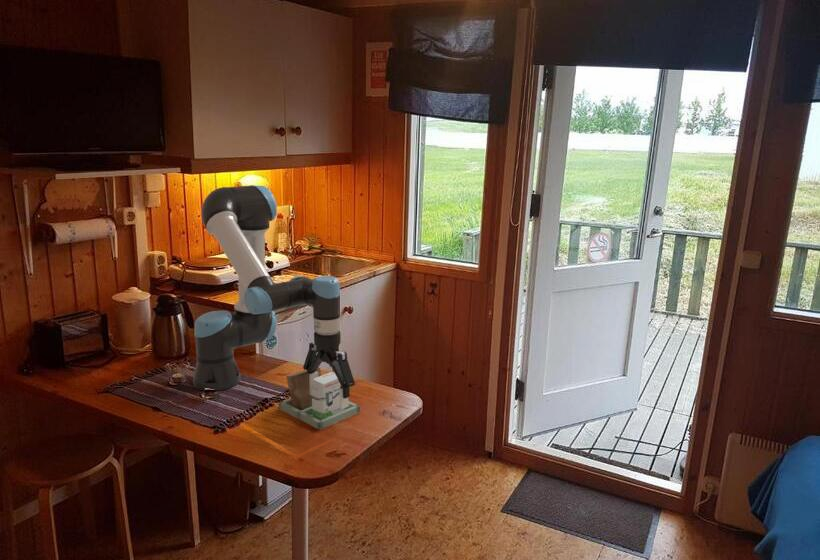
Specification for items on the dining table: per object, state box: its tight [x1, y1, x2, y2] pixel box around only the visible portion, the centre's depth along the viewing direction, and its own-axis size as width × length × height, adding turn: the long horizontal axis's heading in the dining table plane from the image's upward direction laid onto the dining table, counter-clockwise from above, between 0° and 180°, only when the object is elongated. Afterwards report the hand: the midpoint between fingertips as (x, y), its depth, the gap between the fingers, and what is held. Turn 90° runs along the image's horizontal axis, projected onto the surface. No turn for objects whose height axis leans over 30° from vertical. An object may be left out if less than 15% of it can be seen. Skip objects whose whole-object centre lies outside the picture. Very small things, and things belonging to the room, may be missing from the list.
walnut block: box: [285, 367, 322, 409], centre depth 182 cm, size 5×9×10 cm, turn 137°
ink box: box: [312, 371, 344, 421], centre depth 175 cm, size 9×5×12 cm, turn 142°
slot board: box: [278, 397, 361, 431], centre depth 180 cm, size 19×15×3 cm
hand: (328, 400), depth 176 cm, fingers open, 13 cm apart
